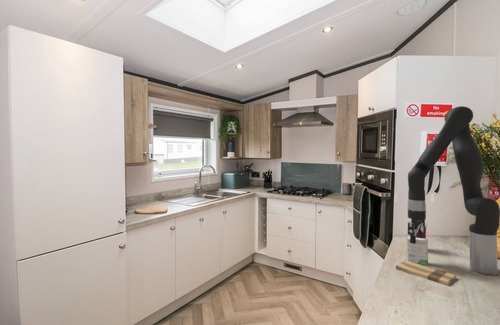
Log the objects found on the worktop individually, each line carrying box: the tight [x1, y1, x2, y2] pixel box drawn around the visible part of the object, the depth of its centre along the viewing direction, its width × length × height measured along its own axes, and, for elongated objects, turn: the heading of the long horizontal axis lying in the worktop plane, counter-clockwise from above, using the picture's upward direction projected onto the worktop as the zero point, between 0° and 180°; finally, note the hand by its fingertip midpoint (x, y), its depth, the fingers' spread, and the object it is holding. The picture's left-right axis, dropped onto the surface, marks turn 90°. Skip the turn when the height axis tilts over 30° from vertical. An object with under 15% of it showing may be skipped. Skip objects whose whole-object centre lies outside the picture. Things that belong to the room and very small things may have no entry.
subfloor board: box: [395, 259, 457, 287], centre depth 114 cm, size 10×20×2 cm, turn 35°
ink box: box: [406, 235, 429, 267], centre depth 126 cm, size 9×5×12 cm, turn 54°
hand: (416, 241), depth 125 cm, fingers open, 8 cm apart
